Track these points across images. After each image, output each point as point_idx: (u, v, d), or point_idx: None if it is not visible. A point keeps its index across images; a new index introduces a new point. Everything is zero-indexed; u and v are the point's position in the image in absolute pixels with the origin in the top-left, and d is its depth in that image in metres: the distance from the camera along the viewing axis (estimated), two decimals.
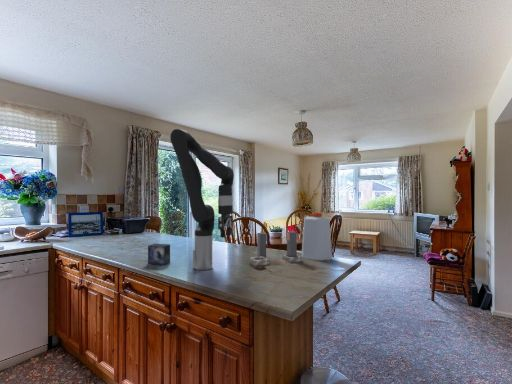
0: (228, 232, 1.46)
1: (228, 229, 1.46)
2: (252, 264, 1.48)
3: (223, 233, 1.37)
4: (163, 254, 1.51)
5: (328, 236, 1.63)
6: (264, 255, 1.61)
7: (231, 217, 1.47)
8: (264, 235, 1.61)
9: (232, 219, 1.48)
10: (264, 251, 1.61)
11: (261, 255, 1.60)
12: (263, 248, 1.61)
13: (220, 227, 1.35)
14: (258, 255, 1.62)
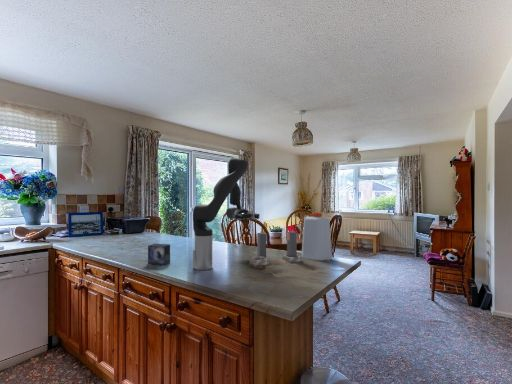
0: None
1: None
2: (252, 264, 1.48)
3: None
4: (163, 254, 1.51)
5: (328, 236, 1.63)
6: (264, 255, 1.61)
7: None
8: (264, 235, 1.61)
9: (234, 218, 1.57)
10: (264, 251, 1.61)
11: (261, 255, 1.60)
12: (263, 248, 1.61)
13: None
14: (258, 255, 1.62)
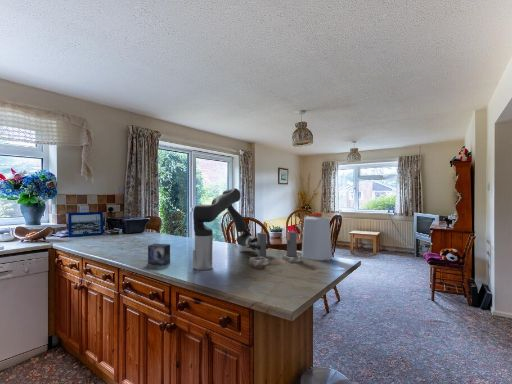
0: None
1: None
2: (252, 264, 1.48)
3: None
4: (163, 254, 1.51)
5: (328, 236, 1.63)
6: (264, 255, 1.61)
7: None
8: (264, 235, 1.61)
9: (249, 247, 1.65)
10: (264, 251, 1.61)
11: (261, 255, 1.61)
12: (263, 248, 1.61)
13: None
14: (258, 255, 1.62)
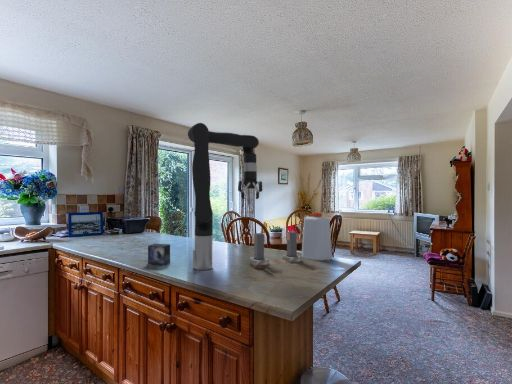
0: None
1: None
2: (252, 264, 1.48)
3: None
4: (163, 254, 1.51)
5: (328, 236, 1.63)
6: (262, 257, 1.49)
7: None
8: (262, 236, 1.49)
9: None
10: (262, 253, 1.49)
11: (258, 257, 1.48)
12: (261, 250, 1.49)
13: None
14: (255, 257, 1.50)
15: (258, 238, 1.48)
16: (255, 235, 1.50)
